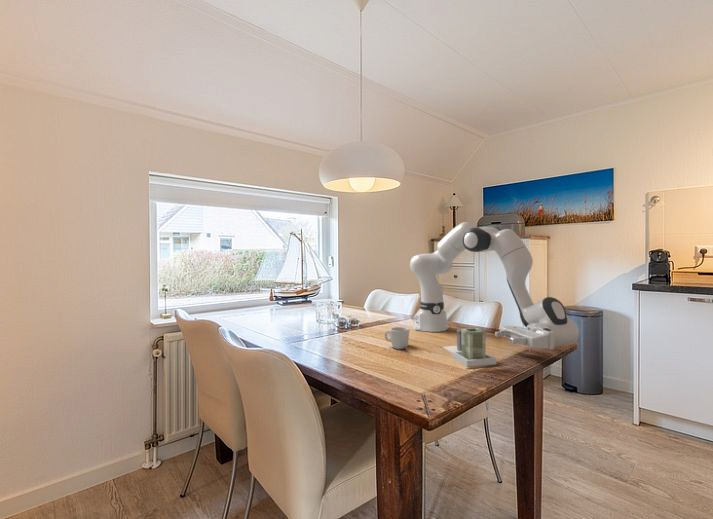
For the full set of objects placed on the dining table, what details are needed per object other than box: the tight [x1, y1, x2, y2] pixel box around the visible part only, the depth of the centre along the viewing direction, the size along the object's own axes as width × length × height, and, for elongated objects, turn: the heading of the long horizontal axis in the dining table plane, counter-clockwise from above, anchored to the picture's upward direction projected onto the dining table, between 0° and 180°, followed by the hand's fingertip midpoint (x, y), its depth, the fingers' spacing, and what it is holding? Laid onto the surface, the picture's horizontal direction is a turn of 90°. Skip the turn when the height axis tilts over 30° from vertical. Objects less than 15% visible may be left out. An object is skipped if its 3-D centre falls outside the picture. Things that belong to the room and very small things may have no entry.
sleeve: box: [460, 327, 487, 360], centre depth 127 cm, size 6×6×11 cm
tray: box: [451, 351, 497, 370], centre depth 127 cm, size 11×11×3 cm
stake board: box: [442, 328, 462, 354], centre depth 142 cm, size 10×10×9 cm
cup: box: [384, 326, 410, 350], centre depth 150 cm, size 11×8×8 cm
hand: (503, 337), depth 129 cm, fingers open, 8 cm apart
